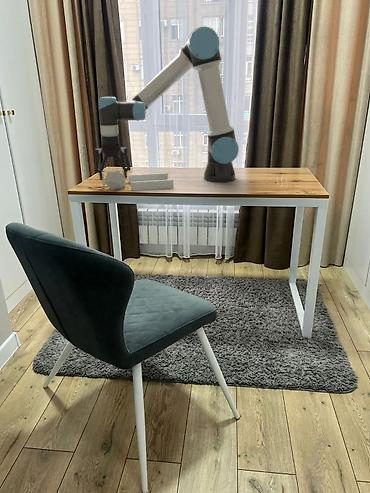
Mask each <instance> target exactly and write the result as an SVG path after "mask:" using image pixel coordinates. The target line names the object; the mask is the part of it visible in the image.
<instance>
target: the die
mask: <svg viewBox="0 0 370 493" xmlns="http://www.w3.org/2000/svg"><path fill="white" fill-rule="evenodd" d="M105 176H106V177H105V178H104V183H105V185H106V186H108V188H109V189H110V190H111V191H115V190H120V189H123V188H124V187H123V185H124V181H125V182H126V179H125V177H124V176H123V175H122V172H120V171H119V170H118V169H117V170H112V171H111V170H110V171H107V172H106V175H105Z"/></svg>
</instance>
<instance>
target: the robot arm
mask: <svg viewBox="0 0 370 493" xmlns="http://www.w3.org/2000/svg"><path fill="white" fill-rule="evenodd" d="M221 62H222V58H221V52H220V38H219V35H218V34H217V32H216V30H214V29H213V28H212V27H210V26H206V25H205V26H204V25H203V26H199V27H196V28H195V29H194V30H192V31H191V33H190V34H189V37H188V40H187V42H186V43H185V44H184V45H183V46H182V47H181V48H180V49H179V52H178V54H177V55H176V57H174V58H173V59H172V60H171V61H170V62H169V63H168V64H167V65H166V66H165V67H164V68H163V69H162V70H161V71H160V72H159V73H158V74H157V75H155V76H154V78H152V79H151V80H150V82H148V84H146V85H145V86H144V87H143V88H142V89H141V90H140V91H139V92H138V93H137V94H136V95H135V96H134V97H133V98H132V99H130V101H118V100H117V98H116V97H115V96H101V97H99V99H98V114H99V126H100V134H101V137H100V138H101V148H95V154H96V155H95V164H94V172H95V173H98V174H99V180H100V181H102V188H103V189H106V186H105V185H106V184H105V183H104V182H105V172H103V171H104V168H105V165H106V162H107V160H108V158H116V160H117V161H118V163H119V165H120V166H121V168H122V171H121V174H122V175H123V176H124V177H125V181H124V185H123V188H125V187H126V180H128V173H127V172H128V171H131V165H130V161H129V158H128V149H127V147H125V146H124V147H121V146H120V136H119V121H136V122H138V121H145V120H146V116H147V114H146V113H147V112H146V111H147V110H148V109H149V108H150V107H151V106H153V104H155V102H156V101H158V99H160V98H161V97H162V96H163V95H164V94H165V93H166V92H167V91H168V90H170V88H171V87H173V85H175V83H176V82H178V81H179V80H180V79H181V78H182V77H183V76H184V75H186V73H187V72H188V71H189V70H190V69H194V70H195V71H197V73H198V78H199V83H200V88H201V93H202V98H203V101H204V107H205V113H206V117H207V122H208V128H209V131H208V132H207V138H208V139H207V163H206V166H205V170H204V173H203V180H206V181H209V182H217V183H219V182H220V183H224V182H232V181H234V180H236V172H235V168H234V166H233V161H235V159H237V157H238V155H239V151H240V150H239V149H240V148H239V144H238V142H237V138H236V134H235V129H234V127H232V126H231V125H230V121H229V115H228V111H227V106H226V104H227V103H226V99H225V94H224V89H223V84H222V78H221V77H222V76H221V72H220V68H219V65H220V64H221ZM101 152H102V153H103V154H104V155H103V159H102V162H101V164H100V167H99V160H100V154H101ZM120 152H122V153H123V156H124V160H125V164H126V167H125V164H124V163H123V161H122V159H121V157H120V155H119V153H120Z"/></svg>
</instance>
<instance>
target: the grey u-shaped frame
mask: <svg viewBox="0 0 370 493" xmlns="http://www.w3.org/2000/svg"><path fill="white" fill-rule="evenodd" d="M127 183H129V184H130V190H131V191H142V190H155V189H156V190H157V189H158V190H159V189H173V188H174V186H175V185H174V179H172V178H171V179H169V173H168V172H157V173H140V174H127Z"/></svg>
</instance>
